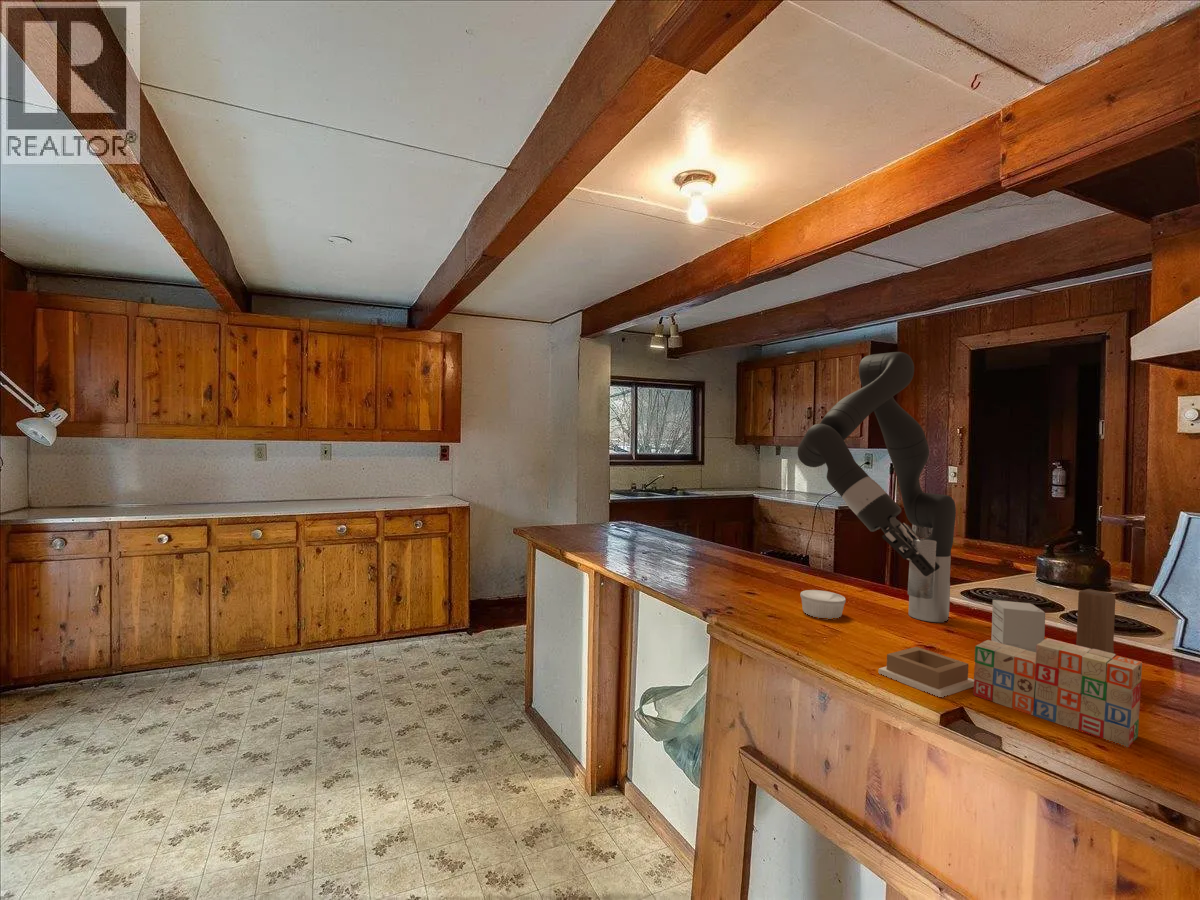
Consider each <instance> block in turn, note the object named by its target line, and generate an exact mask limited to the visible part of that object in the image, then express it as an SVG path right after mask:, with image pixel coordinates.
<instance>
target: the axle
mask: <svg viewBox="0 0 1200 900" xmlns="http://www.w3.org/2000/svg"><path fill="white" fill-rule="evenodd" d="M919 538H920V537H919ZM919 538H912V539H913V540H914V542H915V544H914V546H915V547H916V548H917V549H918V550H919V551H920V553H921V554H922V556H923V557H924V558H925V559H926V560H927V561H928V562H929V563H930V564H931V565H932V566H933V567H934V569H935V558H936V541H934V540H928V539H925V538H920V539H919ZM921 554H920V555H921ZM908 561H909V560H908ZM911 561H912V560H911ZM911 561H909V563H908V564H909V565H908V581H907V595H908V596H909V595H910V596H913V597H917V598H924V599H932V598H933V592H934V575H935V571H934V572H933V573H931V574H930V575H928V576H924V575H923V574H922V573H921V572H920V571H919V569H918V568H917V567H916V566H915V565H914V564H913V563H912V562H911Z"/></svg>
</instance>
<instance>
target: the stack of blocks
mask: <svg viewBox="0 0 1200 900" xmlns="http://www.w3.org/2000/svg"><path fill="white" fill-rule="evenodd" d="M1142 669H1143V662H1142V661H1140V660H1137V659H1133V658H1129V657H1125V656H1124V657H1123V656H1120V655H1117V654H1116V653H1114V654H1113V653H1109V652H1105V651H1101V650H1097V649H1090V648H1086V647H1082V646H1078V645H1076V644H1073V643H1068V642H1065V641H1061V640H1056V639H1053V638H1050V637H1049V638H1048V637H1047V638H1044V640H1043V641H1042V642H1041V643H1039V644H1037V646H1036V652H1032V651H1028V650H1025V649H1021V648H1017V647H1013V646H1010V645H1005V644H1002V643H998V642H994V641H991V640H990V639H987V640H984V641H982V642H981V643H978V644H977V645H975V646H974V669H973V670H974V672H973V680H974V687H973V690H972V691H973V692H972V693H973V696H975V697H978V698H981V699H985V700H988V701H990V702H993V703H995V704H997V705H1000V706H1004V707H1006V708H1010V709H1013V710H1015V711H1019V712H1022V713H1023V714H1024V713H1025V714H1028V715H1031V716H1034V717H1037V718H1040V719H1043V720H1046V721H1048V722H1052V723H1054V724H1058V725H1061V726H1064V727H1066V726H1067V728H1069V727H1070V729H1072V728H1074V729H1073V730H1075V729H1078V730H1080V731H1079V732H1081V731H1083V732H1082V733H1084V732H1086V733H1085V734H1087V733H1089V734H1088V735H1090V734H1092V735H1095V736H1098V737H1101V738H1104V739H1106V740H1105V741H1107V740H1109V741H1108V742H1110V741H1113V742H1115V743H1114V744H1116V743H1119V744H1121V745H1120V746H1122V745H1124V746H1123V747H1125V746H1126V747H1125V748H1128V747H1129V748H1130V747H1131V746H1132V745H1133V744H1134V742H1135V740H1137V738H1138V737H1139V726H1140V725H1139V724H1140V710H1141V709H1140V708H1141V707H1140V706H1141V705H1140V704H1141V695H1142V671H1143V670H1142ZM1078 730H1077V731H1078ZM1092 735H1091V736H1092ZM1095 736H1094V737H1095ZM1098 737H1097V738H1098ZM1101 738H1100V739H1101ZM1104 739H1103V740H1104ZM1133 741H1134V742H1133ZM1113 742H1112V743H1113ZM1119 744H1118V745H1119ZM1131 744H1132V745H1131ZM1130 745H1131V746H1130Z"/></svg>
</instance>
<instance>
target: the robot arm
mask: <svg viewBox="0 0 1200 900" xmlns="http://www.w3.org/2000/svg"><path fill="white" fill-rule="evenodd" d="M914 375H915V364H914V362H913V359H912V357H911V356H910V355H909V354H908V353H906V352H903V351H892V352H884V353H874V354H869V355H866V356H864V357H863V358H862V359H861V361H860V362H859V365H858V376H859V377H858V378H859V380H860V384H861V386H862V387H861V388H859V389H857V390H855V391H853V392H851V393H850V394H847V395H846V396H844V397H843V398H842V399H840V400H839V401H838V402H836V403H835V405H833V407H832V408H830V409H829V410H828V412H827V413H826V414H825V415H824V416H823V418H822V420H821V421H820V422H819V423H815V424H813V425H812V426H810V427H809V428H808V430H807V431H806V432H805V434H804V436H803V438H802V439H801V441H800V442H799V444H798V447H797V457H798V460H799V461H800V463H802V464H803V465H805V466H806V467H809V468H817V467H821V466H824V465H826V467H827V472H826V480H827V482H828V483H829V484H830V486H831V487H832V488H833V489H834V491H836V493H837V494H838V495H839V496H840V497H841V498H842V500H844V502H845V503H846V506H848V508H849V509H850V510H851V511H852V512H853V513H854V515H856V517H857V518H858V519H859V520H860V522H862V523H863V524H864V526H866V528H867V529H868V530H869V532H876V531H877V530H880V529H881V531H882V532H883V533H884V534H883V535H881V538H882V539H883V540H884V541H885V542H886V543H888V545H889V546H890V547H891V548H892V549H893V550H894V551H896V553H897V554H898V555H900V556H901V558H902V559H904V560H907V561H911V560H912V561H911V562H912V563H913V564H914V565H915V566H916V567H917V568H918V569H919V571H920V572H921V573H922V574H923V575H924V576H928V575H930V574H931V573H933V572H934V571H935V575H934V592H933V598H932V599H924V598H917V597H913V596H910V595H908V612H907V613H908V616H909V617H911V618H913V619H916V620H919V621H920V620H921V621H923V622H924V621H925V622H931V623H945V622H944V621H947V620H948V621H949V618H950V601H951V600H950V598H951V582H950V581H951V580H950V579H951V557H952V547H953V544H954V536H955V535H954V533H955V523H956V515H957V511H956V510H957V507H956V503H955V500H954V499H953V497H952V496H950V495H948V494H940V493H939V494H938V493H929V492H924V491H923V490H922V487H921V484H920V483H921V482H920V478H921V474H922V472H923V470H924V468H925V466H926V465H927V462H928V460H929V456H930V448H929V444H928V441H927V438H926V433H925V431H924V429H923V428H922V425H920V423H919V422H918V421H917V420H916V419H915V418H914V417H913V416H911V414H909V413H908V411H906V410H905V409H904V408H903V407H902V406H900V404H899V403H898V402H897V401H896V399H895V398H894V397H895V396H896V395H897V394H899V393H900V392H902V391H903V390H904V389H905V388H907V387H908V386H909V385H910V383H911V382H912V380H913V377H914ZM873 412H874V415H875V417H876V420H877V422H878V425H879V428H880V431H881V433H882V437H883V440H884V444H885V447H886V450H887V453H888V455H889V458H890V460H891V463H892V465H893V468H894V473H895V475H896V477H897V482H898V486H899V490H900V496H901V499H902V506H903V509H904V513H905V515H906V518H907V519H908V522H909V523H910V524H912V525H913V526H916V527H921V528H927V529H932V531H931V534H930V536H928V537H925V538H924V539H928V540H934V541H936V558H935V569H934V567H933V566H932V565H931V564H930V563H929V562H928V561H927V560H926V559H925V558H924V557H923V556H922V554H921V553H920V551H919V550H918V549H917V548H916V547H915V546H914V544H915V542H914V540H913V539H912V538H919V539H921V538H920V537H919V536H918V535H917V533H916V532H915V531H914V529H912V527H911V526H910V525H909V524H907V523H905V522H903V523H902V522H901V521H900V520H898V519H897V516H899V514H901V513H902V508H901V507H900V506H899V505H898V503H897V502H896V501H895V500H894V499H893V498H892V497H891V496H890V495H889V493H887V491H885V490H884V489H883V487H882V486H881V485H880V484H879V483H878V482H877V481H875V480H874V479H873V478H871V477H870V476H869V475H868V473H867V472H866V471H865V470H864V469H863V468H862V467H861V466H860V465H859V464H858V463H857V461H855V459H854V456H853V455H852V452H851V450H850V449H849V447H848V445H847V444H846V442H845V440H846V439H847V438H848V437H849V436H851V435H852V433H853V432H855V430H856V429H857V428H858V427H859V426H860V425H861V423H863V421H864V420H865V419H867V418H868V417H869V416H870V415H871V414H872V413H873ZM920 554H921V555H920ZM948 617H949V618H948ZM948 621H947V622H948Z"/></svg>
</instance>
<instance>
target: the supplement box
mask: <svg viewBox="0 0 1200 900" xmlns="http://www.w3.org/2000/svg"><path fill="white" fill-rule="evenodd" d="M991 612H992V616H991V637H990V638H991V640H990V641H994V642H998V643H1002V644H1005V645H1010V646H1013V647H1017V648H1021V649H1025V650H1028V651H1032V652H1036V646H1037V644H1039V643H1041V642H1042V641H1043V640H1045V634H1046V633H1045V631H1046V630H1045V629H1046V612H1045V611H1044V610H1043V609H1041V608H1040V607H1037V606H1036V605H1034V604H1033V603H1031V602H1030V603H1029V602H1020V601H1019V602H1018V601H1010V600H1009V601H1008V600H1000V599H999V600H998V599H992V611H991Z"/></svg>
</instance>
